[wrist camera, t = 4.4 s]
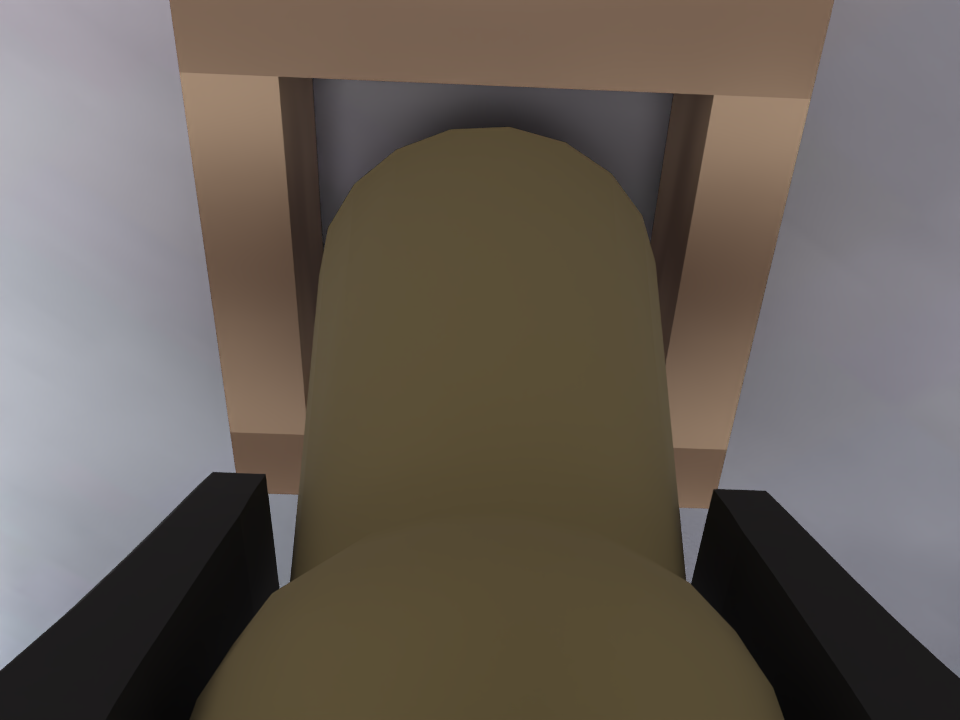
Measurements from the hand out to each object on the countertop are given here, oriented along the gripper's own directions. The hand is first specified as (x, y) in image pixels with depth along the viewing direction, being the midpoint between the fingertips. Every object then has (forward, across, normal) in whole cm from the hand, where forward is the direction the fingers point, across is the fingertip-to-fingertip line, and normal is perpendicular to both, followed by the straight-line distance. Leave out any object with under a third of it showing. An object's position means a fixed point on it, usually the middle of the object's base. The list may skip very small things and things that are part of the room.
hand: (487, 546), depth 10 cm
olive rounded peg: (+6, 0, 0) cm, 6 cm away
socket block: (+10, 0, 0) cm, 10 cm away
